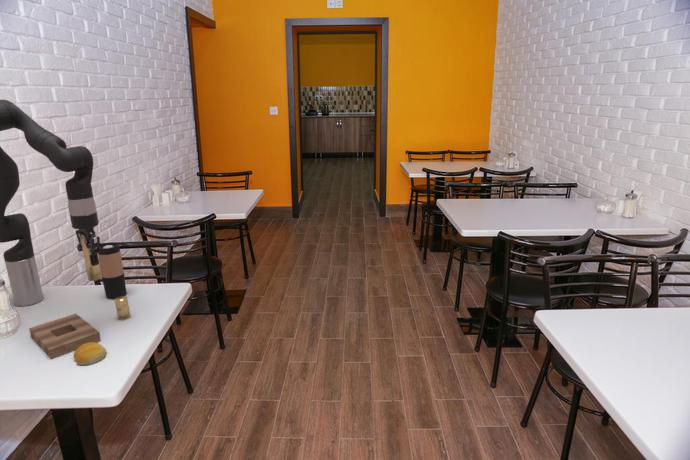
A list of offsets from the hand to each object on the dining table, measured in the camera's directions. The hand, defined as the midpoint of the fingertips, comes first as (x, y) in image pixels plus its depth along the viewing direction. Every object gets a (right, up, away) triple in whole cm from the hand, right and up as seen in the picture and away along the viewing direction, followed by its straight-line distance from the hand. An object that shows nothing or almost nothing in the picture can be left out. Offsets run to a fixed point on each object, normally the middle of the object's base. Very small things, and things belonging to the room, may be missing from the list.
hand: (92, 263), depth 158 cm
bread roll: (+7, -27, -14) cm, 31 cm away
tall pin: (0, -5, +2) cm, 5 cm away
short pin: (+5, -19, +11) cm, 23 cm away
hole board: (-7, -24, -3) cm, 25 cm away
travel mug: (-6, -14, +29) cm, 33 cm away
